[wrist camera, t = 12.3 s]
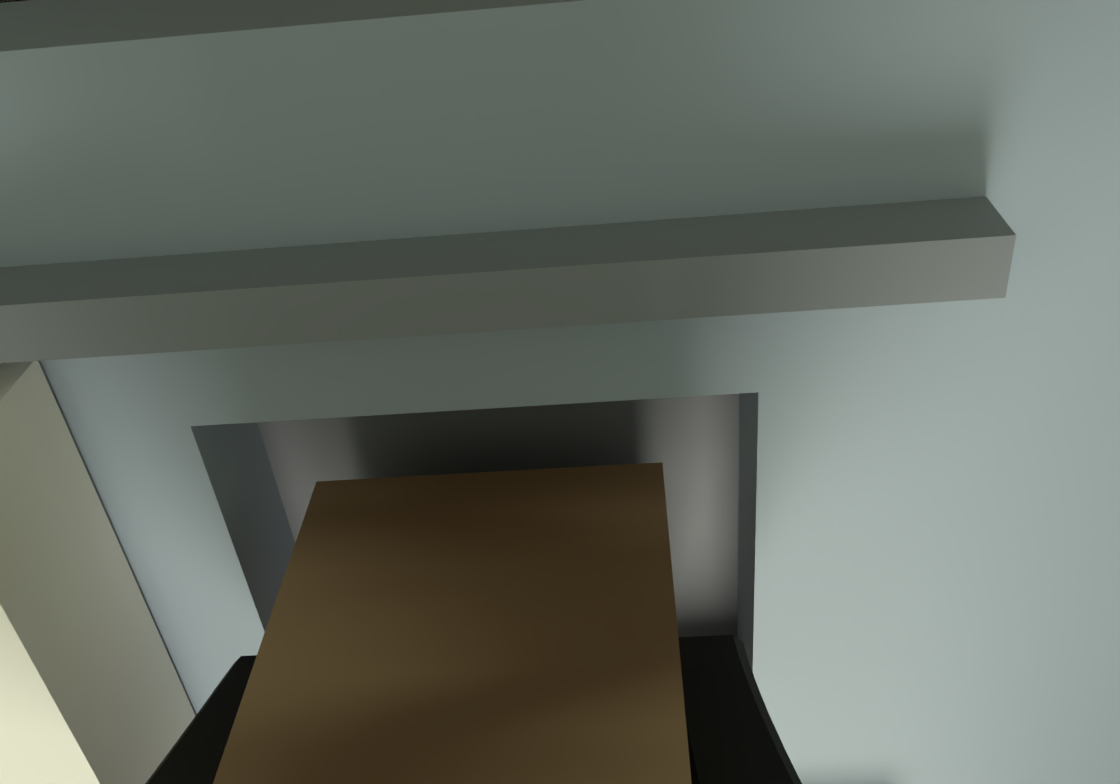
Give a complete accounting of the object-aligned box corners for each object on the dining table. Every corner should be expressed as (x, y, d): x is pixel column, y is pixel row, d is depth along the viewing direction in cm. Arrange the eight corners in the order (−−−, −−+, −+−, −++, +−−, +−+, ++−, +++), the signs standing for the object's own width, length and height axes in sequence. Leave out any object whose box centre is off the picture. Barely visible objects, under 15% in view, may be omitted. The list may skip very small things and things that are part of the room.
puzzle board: (1391, -125, 10) (1645, -64, 7) (1091, 793, 17) (1168, 962, 15) (-757, 72, 11) (-1111, 173, 9) (-145, 831, 19) (-247, 991, 17)
